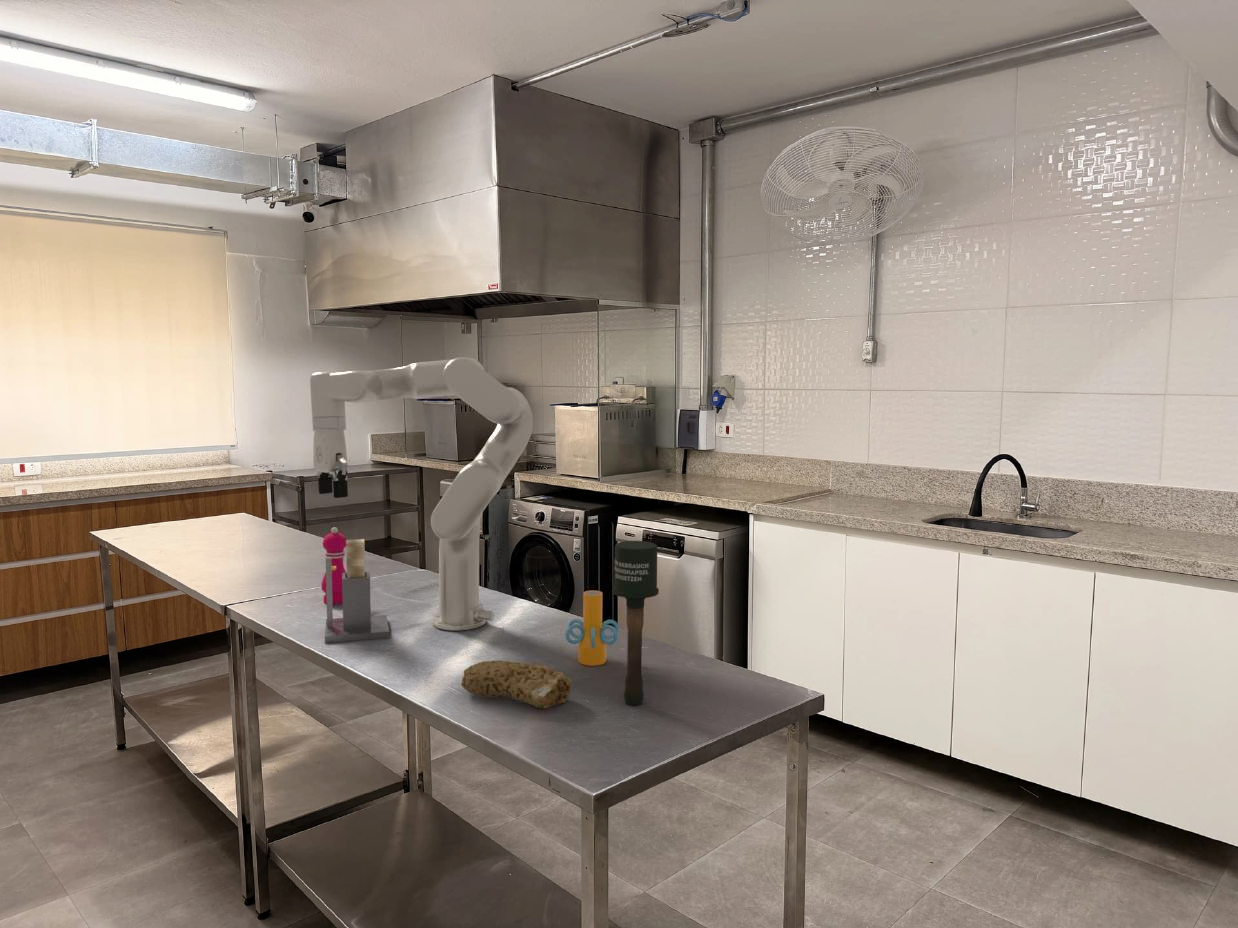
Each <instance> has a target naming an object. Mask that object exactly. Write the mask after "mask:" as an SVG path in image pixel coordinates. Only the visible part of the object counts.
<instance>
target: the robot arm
mask: <svg viewBox="0 0 1238 928" xmlns="http://www.w3.org/2000/svg"><path fill="white" fill-rule="evenodd" d="M309 384H310V385H309V388H310V401H311V405H310V406H311V419H312V420H311V421H312V422H311V423H312V431H313V432H314V433H313V445H312V446H313V469H314V470H315V471H317V474H316V475H317V483H318V494H319V495H325V494H332V493H333V498H335V499H340V498H347V497H348V496H349V493H348V492H349V491H348V473H349V472H348V465H349V464H348V457H347V445H346V436H345V431H346V430H347V423H346V422H347V420H346V403H354V404H356V403H357V404H358V403H369V402H375V401H376V402H377V401H386V400H388V401H389V400H395V399H414V400H416V399H417V400H418V399H420V400H421V399H427V398H429V399H430V398H439V397H440V398H441V397H448V396H456V397H457V398H459V399H460V400H461V401H462V402H464V403H465V404H467V405H468V406H469V407H471V408H472V409H473V410H475V411H476V412H478V414H480V415H481V416H483V417H484V418H485V419H487V420H488V421H490V422H492V423H494V424H496V426H495V429H494V431H493V432H492V434H491V435H490V437H489V438H488V439H487V440H486V442H485V444H484V446H483V447H482V449H481V450H480V451H479V453H478V454H477V455H476V456H475V458H474V459H473V461H471V462H470V463H468V464H466V465H465V466H463V468H462V469H461V470H460V471H459V472H458V474H457V475H456V477H455V478H454V480H453V481H452V482H451V484H450V485H449V486H448V488H447V490H446V491H445V492H444V494H443V496H442V497H441V499H440V500H439V502H438V503H437V505H436V506H435V508H434V509H433V511H432V513H431V516H430V526H431V529H432V531H433V533H434V535H435V536H436V537H438V539H439V543H438V544H439V545H438V546H439V547H438V555H439V556H438V584H439V585H438V587H439V591H438V593H439V594H438V595H439V604H438V605H439V614H438V615H437V616H435V617H434V618H433V621H432V624H433V626H434V627H435V628H437V629H441V630H445V631H469V630H474V629H477V628H480V627H482V626H483V625H485V624H486V622H487V621H490V622H493V621H494V618H495V617H494V616H495V614H494V610H491V609H490V610H487V609H484V604H483V603H480V534H481V532H480V531H481V515H482V514H483V512H484V511H485V509H486V508H487V506H488V505H489V504H490V502H491V501H492V499H493V498H494V497H495V496H496V495H497V493H498V492H499V491H500V489H501V488H502V485H503V484H504V481H505V480H506V479H507V477H508V476H509V474H510V473H511V471H512V470H513V468H514V467H515V465H516V463H517V462H518V460H519V458H520V457H521V455H522V454H523V452H524V450H525V448H527V445H528V443H529V441H530V438H531V437H532V433H533V425H534V421H533V420H534V418H533V412H532V409H531V406H530V403H529V402H528V400H527V398H526V397H525V396H524V394H523V393H522V392H521V391H519V390H518V389H516V388H514V387H512V386H511V387H509V386H508V387H507V386H505V385H504V384H502V383H501V382H499V380H497V379H496V378H495V377H492V375H491V374H489V372H487V371H485V368H484V366H483V364H482V363H481V362H480V361H478V360H477V359H475V358H472V357H464V356H461V357H459V356H458V357H456V358H452V359H441V360H432V361H431V360H430V361H429V360H428V361H419V362H414V363H413V362H412V363H410V364H408V365H406V366H405V365H404V366H401V367H395V368H385V369H376V370H374V369H373V370H349V371H344V372H337V371H336V372H335V371H325V372H324V371H323V372H322V371H320V372H314V373H312V374H311V375H310V378H309ZM331 475H332V476H331Z"/></svg>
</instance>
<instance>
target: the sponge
mask: <svg viewBox="0 0 1238 928" xmlns="http://www.w3.org/2000/svg"><path fill="white" fill-rule="evenodd" d="M572 682H573V681H572V679H571V678H570V677H569V676H567V675H566V674H565V673H562V672H559V671H558V670H557V669H554V668H551V667H549V666H545V665H540V664H533V663H526V662H525V663H523V662H515V661H509V660H486V661H480V662H477V663H475V664H473V665H470V666H469V667H467V668H466V669H464V670H463V676H462V678H461V683H460V686H461V687H462V688H463V689H464V690H466V691H467V692H468V693H470V694H472V695H474V696H477V697H478V696H479V697H482V698H486V699H494V700H495V699H496V700H513V701H514V700H516V701H520V702H522V703H526V704H528V705H531V706H532V707H535V708H540V709H549V708H552V707H554V706H555V705H562V704H561V703H563V704H565V703H566V702H567V701H568V699H569V697H570V694H571V691H572V689H573V683H572Z"/></svg>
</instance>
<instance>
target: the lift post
mask: <svg viewBox="0 0 1238 928" xmlns="http://www.w3.org/2000/svg"><path fill="white" fill-rule="evenodd" d="M365 544H366V543H365V538H360V539H359V538H358V539H357V538H356V539H346V547H345V549H346V551H345V553H346V573H347V578H358V577H365V572H366V555H365V554H366V553H365V552H366V551H365V550H366V549H365Z"/></svg>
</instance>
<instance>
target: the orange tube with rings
mask: <svg viewBox="0 0 1238 928" xmlns="http://www.w3.org/2000/svg"><path fill="white" fill-rule="evenodd" d="M582 602H583V604H582V605H583V607H582V608H583V612H582V614H583V619H582V620H581V619H579V618H573V619H572V620H570V621H569V623H568V627H567V628H566V632H565V639H566V641H567V643H570V644H571V645H577V644H578V646H577V648H578V649H577V650H578V652H577V653H578V657H577V658H578V663H579V664H581V665H583V666H590V667H596V666H601V665H604V664H605V663H606V662H607V645H608V646H612V645H615V644H616V642H617V641H618V639H619V638H618V632H619V624H618V622H617V621H615V620H614V619H607V620H605V621H603V592H602V591H600V590H586V591H583V601H582ZM610 624H612V625H610ZM613 626H614V627H613ZM573 629H578V630H579V631H580V634H576V633H575V632H574V631H573ZM607 629H608V630H610V631H611V632H612V634H610V635H607V634H606V633H605V630H607ZM570 637H572V638H574V639H575V640H573V639H571V638H570Z"/></svg>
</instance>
